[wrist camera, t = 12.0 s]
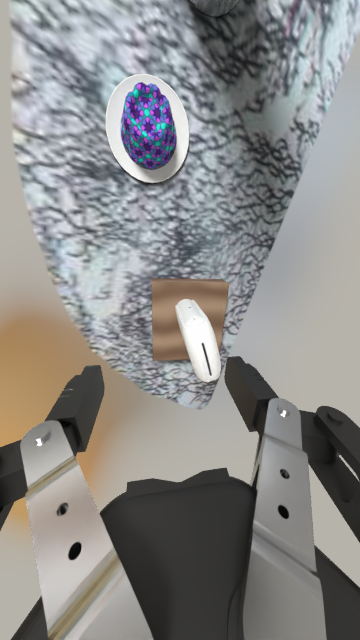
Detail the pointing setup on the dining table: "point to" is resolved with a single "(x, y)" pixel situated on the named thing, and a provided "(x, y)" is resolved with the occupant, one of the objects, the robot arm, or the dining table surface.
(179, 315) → the photo printer
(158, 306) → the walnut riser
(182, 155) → the pudding
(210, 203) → the dining table surface
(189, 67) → the dining table surface
